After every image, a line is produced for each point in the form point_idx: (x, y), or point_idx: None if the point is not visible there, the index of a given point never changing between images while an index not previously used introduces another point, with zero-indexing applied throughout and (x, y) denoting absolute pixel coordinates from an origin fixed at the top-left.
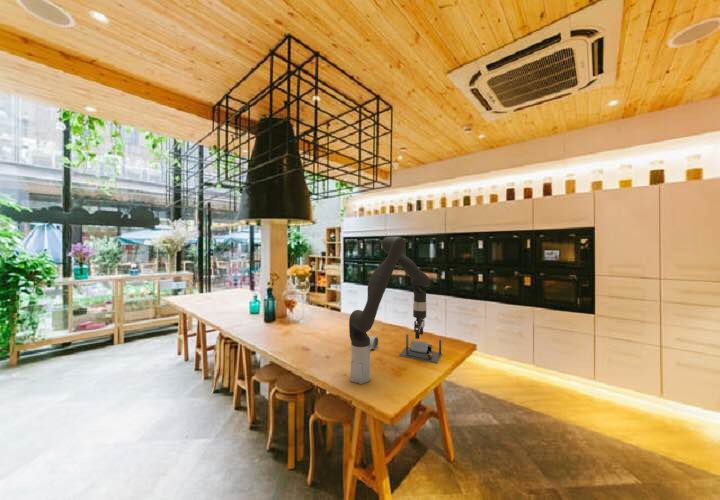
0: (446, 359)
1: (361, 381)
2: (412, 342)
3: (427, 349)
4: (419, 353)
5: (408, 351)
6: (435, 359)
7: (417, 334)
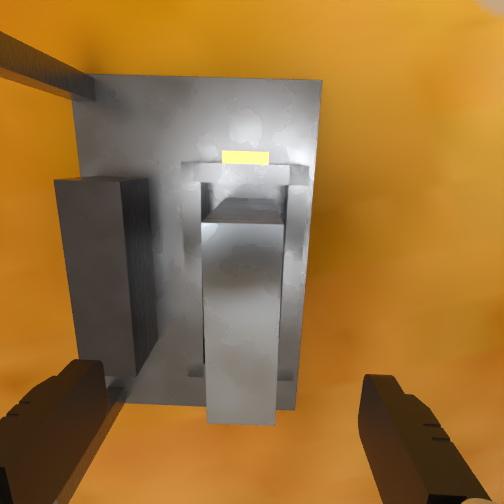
0: (176, 7)
1: None
2: (274, 403)
3: (220, 207)
4: (300, 270)
5: (293, 369)
6: (272, 108)
7: (466, 480)
